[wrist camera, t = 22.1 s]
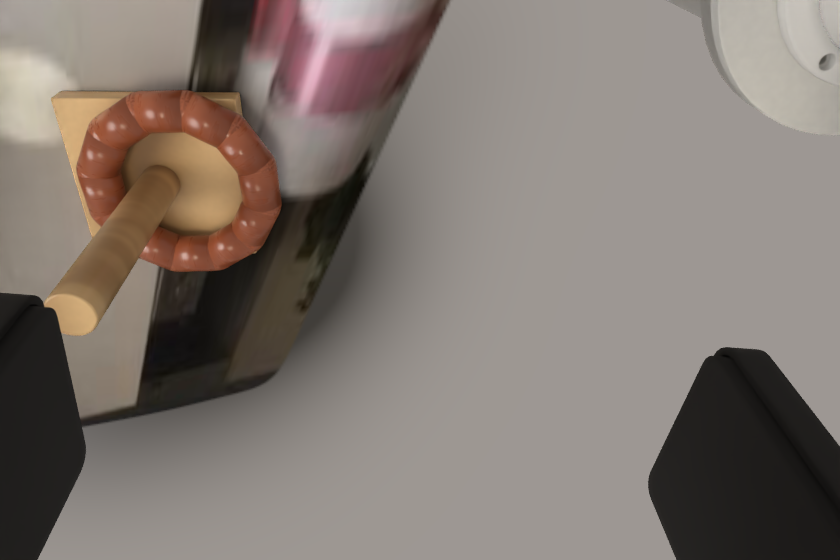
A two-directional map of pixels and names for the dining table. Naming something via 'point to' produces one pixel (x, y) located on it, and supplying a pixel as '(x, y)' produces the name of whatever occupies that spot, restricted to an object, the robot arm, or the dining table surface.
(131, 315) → the dining table surface
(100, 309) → the wooden peg stand
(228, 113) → the ring
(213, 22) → the dining table surface
